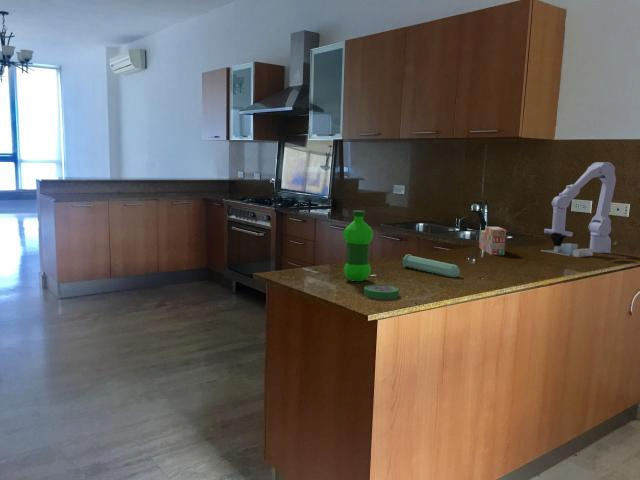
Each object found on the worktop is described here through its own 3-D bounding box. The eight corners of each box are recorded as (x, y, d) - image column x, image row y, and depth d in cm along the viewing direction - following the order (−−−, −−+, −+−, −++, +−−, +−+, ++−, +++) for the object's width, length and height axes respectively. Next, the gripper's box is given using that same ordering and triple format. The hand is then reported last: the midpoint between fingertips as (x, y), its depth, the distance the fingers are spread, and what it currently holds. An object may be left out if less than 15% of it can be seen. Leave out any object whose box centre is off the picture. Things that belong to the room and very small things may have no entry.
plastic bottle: (363, 284, 190) (365, 212, 187) (337, 281, 196) (338, 211, 192) (376, 279, 199) (378, 210, 195) (350, 276, 204) (352, 209, 201)
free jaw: (565, 250, 267) (566, 244, 267) (571, 251, 264) (571, 245, 264) (551, 251, 262) (552, 245, 262) (557, 252, 260) (557, 246, 259)
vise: (556, 251, 273) (557, 243, 272) (593, 257, 255) (594, 249, 255) (540, 252, 267) (540, 244, 266) (576, 259, 250) (577, 250, 249)
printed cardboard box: (478, 248, 279) (479, 224, 278) (490, 248, 279) (492, 224, 278) (491, 255, 258) (493, 229, 257) (504, 255, 258) (506, 229, 257)
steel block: (567, 252, 263) (568, 243, 263) (577, 253, 259) (577, 244, 258) (560, 253, 261) (561, 243, 260) (570, 254, 257) (570, 245, 256)
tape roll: (400, 293, 180) (400, 285, 179) (396, 301, 169) (396, 293, 169) (366, 291, 183) (367, 283, 182) (360, 298, 172) (361, 290, 172)
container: (460, 261, 205) (410, 251, 225) (451, 269, 202) (401, 258, 222) (463, 275, 208) (413, 264, 227) (454, 282, 205) (404, 270, 224)
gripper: (540, 220, 268) (538, 247, 270) (566, 223, 256) (564, 252, 257) (550, 219, 272) (548, 246, 273) (576, 222, 259) (574, 251, 261)
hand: (556, 249), depth 266 cm, fingers closed
